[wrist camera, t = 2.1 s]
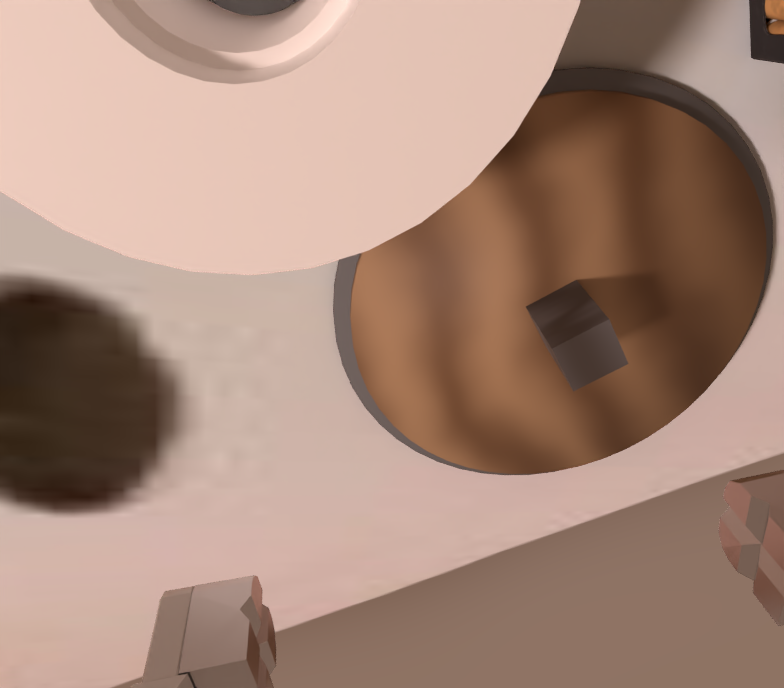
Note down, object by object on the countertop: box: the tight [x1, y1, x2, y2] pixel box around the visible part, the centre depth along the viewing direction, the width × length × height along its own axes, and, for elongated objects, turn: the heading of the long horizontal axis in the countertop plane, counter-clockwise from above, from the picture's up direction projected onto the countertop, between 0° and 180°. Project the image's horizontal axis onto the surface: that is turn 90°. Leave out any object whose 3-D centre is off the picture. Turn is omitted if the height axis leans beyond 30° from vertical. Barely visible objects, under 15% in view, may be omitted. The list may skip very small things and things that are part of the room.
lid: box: [350, 89, 767, 474], centre depth 39 cm, size 26×26×6 cm
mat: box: [333, 68, 773, 475], centre depth 42 cm, size 28×28×1 cm
